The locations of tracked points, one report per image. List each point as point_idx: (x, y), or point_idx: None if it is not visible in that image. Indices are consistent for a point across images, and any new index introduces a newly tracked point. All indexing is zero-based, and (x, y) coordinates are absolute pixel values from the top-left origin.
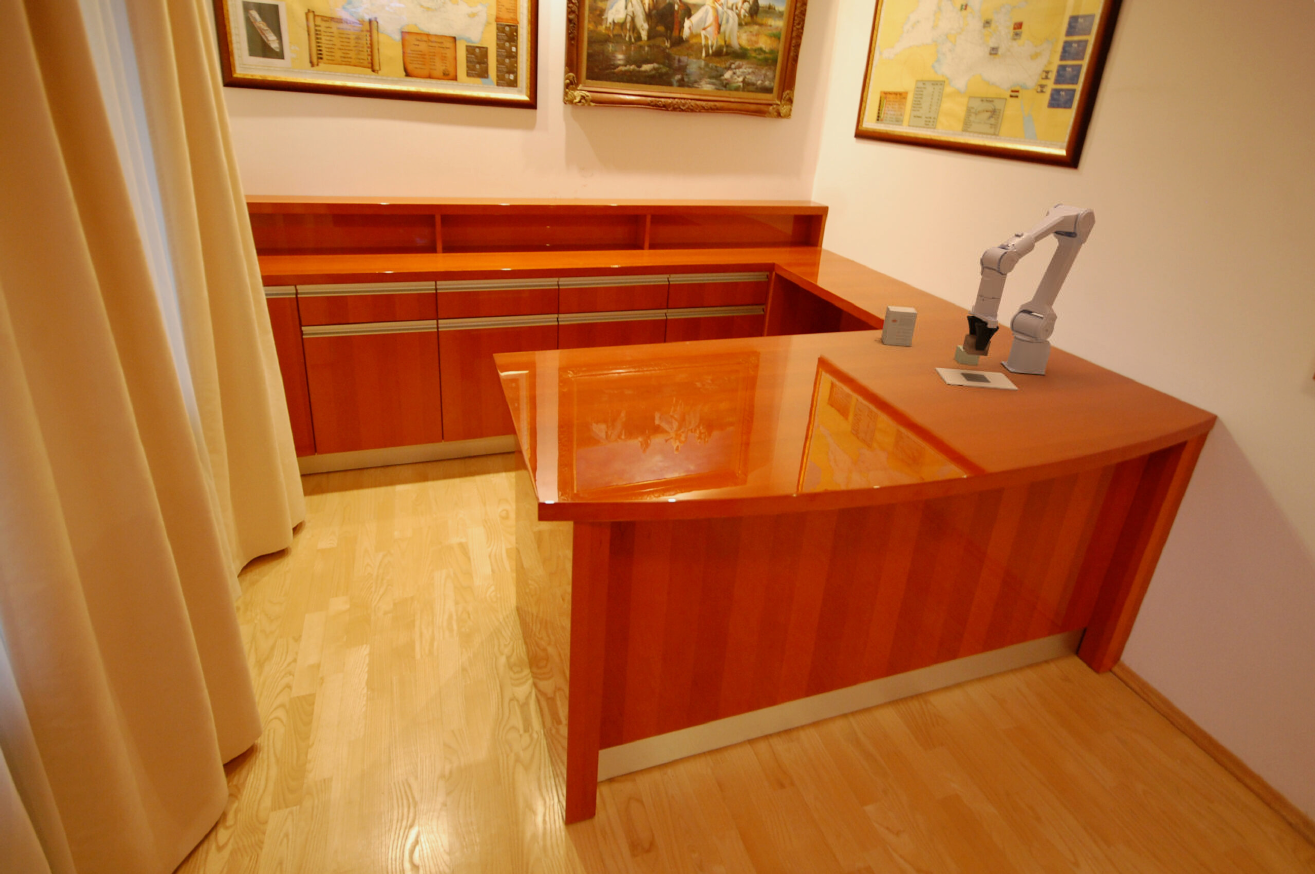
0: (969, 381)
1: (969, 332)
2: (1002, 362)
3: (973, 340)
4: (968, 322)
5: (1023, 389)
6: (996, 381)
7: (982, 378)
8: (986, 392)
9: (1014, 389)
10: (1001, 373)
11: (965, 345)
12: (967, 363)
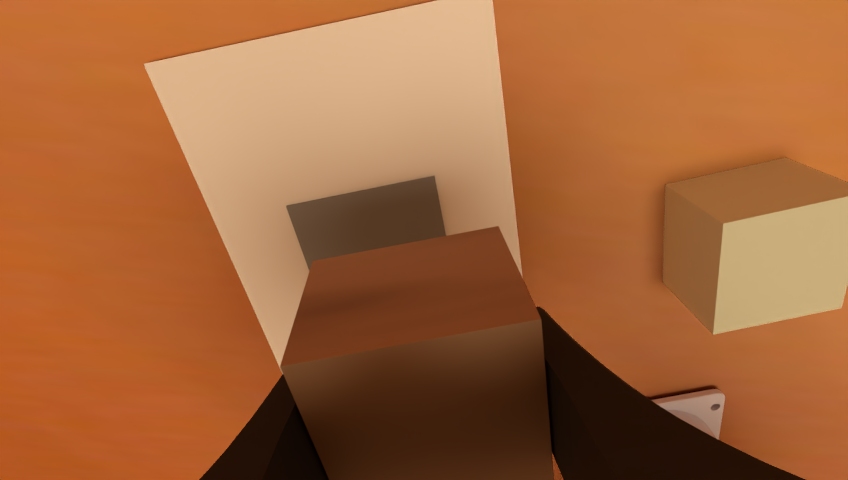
0: (283, 217)
1: (585, 369)
2: (705, 397)
3: (290, 383)
4: (715, 452)
5: None
6: None
7: None
8: (169, 291)
9: None
10: None
11: (437, 266)
12: (668, 231)
